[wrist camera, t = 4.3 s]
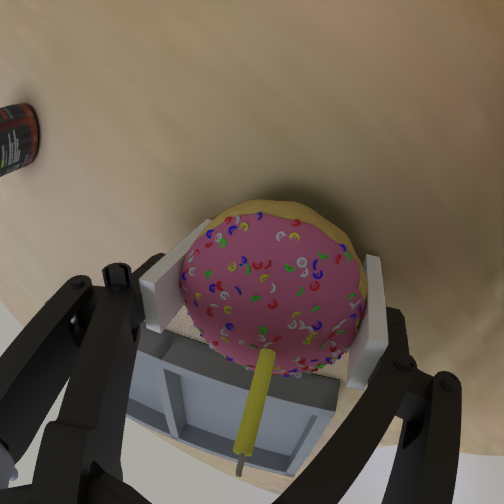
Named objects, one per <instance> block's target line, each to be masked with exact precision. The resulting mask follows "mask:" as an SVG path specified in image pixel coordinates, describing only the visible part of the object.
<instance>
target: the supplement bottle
mask: <svg viewBox="0 0 504 504" xmlns="http://www.w3.org/2000/svg"><path fill="white" fill-rule="evenodd" d="M37 144H38V130H37V124H36V119H35V117H34V114H33V112H32V110H31V109H30V108H29V107H28V106H27V105H25V104H16V105H10V106H7V107H2V108H0V177H1V176H3V175H6V174H8V173H10V172H13V171H15V170H18V169H20V168H22V167H25V166H27V165H28V164H30V163H31V162H32V160H33V158H34V156H35V154H36V150H37Z"/></svg>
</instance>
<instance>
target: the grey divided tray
mask: <svg viewBox="0 0 504 504" xmlns="http://www.w3.org/2000/svg"><path fill="white" fill-rule="evenodd" d="M50 299H51V298H50ZM50 299H49V300H50ZM49 300H48V301H49ZM48 301H47V302H48ZM47 302H46V303H47ZM46 303H45V304H46ZM74 320H75V317H73V318H72V320H71V322H74ZM140 326H141V335H140V340H139V344H138V349H137V354H136V359H135V364H134V370H133V375H132V381H131V386H130V392H129V398H128V405H127V411H126V417H128V418H130V419H132V420H134V421H136V422H138V423H140V424H142V425H144V426H146V427H148V428H150V429H152V430H154V431H156V432H158V433H161V434H163V435H165V436H167V437H170V438H172V439H174V440H177V441H179V442H181V443H184V444H186V445H189V446H191V447H194V448H197V449H199V450H202V451H204V452H207V453H210V454H213V455H216V456H218V457H221V458H224V459H227V460H230V461H234V462H237V463H238V459H239V455H238V454H236V453H234V452H233V447H234V444H235V440H236V437H237V434H238V430H239V427H240V423H241V420H242V416H243V412H244V409H245V405H246V402H247V398H248V394H249V391H250V387H251V383H252V380H253V376H254V372H255V371H253V370H250V369H248V370H247V369H246V368H245V367H243V366H242V365H239V364H237V363H235V362H233V361H226V360H225V359H224V357H223V356H222V355H221V354H220V353H219V352H216V351H215V350H214V349H211V348H210V347H209V345H207V344H204V343H201V342H198V341H195V340H192V339H190V338H187V337H184V336H181V335H178V334H175V333H172V332H170V331H167V330H163V331H162V333H158V332H155V331H153V330H150V329H148V328H147V327H146V322H142V323H141V324H140ZM226 359H227V358H226ZM227 360H228V359H227ZM299 375H300V374H296V376H299ZM285 376H287V375H285ZM339 385H340V380H338V379H333V378H329V377H324V376H320V375H315V374H311V373H306V372H302V375H301V377H299V378H296V377H295V376H294V374H293V375H290V376H289V377H284V376H283V375H273V374H272V375H271V379H270V384H269V388H268V392H267V397H266V401H265V405H264V409H263V413H262V417H261V422H260V426H259V430H258V434H257V438H256V442H255V445H254V449H253V453H252V455H251V456H245V460H244V465H247V466H250V467H254V468H257V469H261V470H264V471H268V472H272V473H276V474H280V475H285V476H289V477H294V475H295V474H296V473H297V471H298V470H299V468H300V467H301V465H302V464H303V462H304V461H305V460H306V458H307V457H308V455H309V454H310V452H311V451H312V449H313V447H314V446H315V444H316V443H317V441H318V440H319V438H320V437H321V435H322V433H323V432H324V430H325V428H326V427H327V425H328V423H329V422H330V420H331V418H332V417H333V415H334V413H335V411H336V405H337V399H338V392H339Z"/></svg>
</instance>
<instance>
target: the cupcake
mask: <svg viewBox="0 0 504 504" xmlns="http://www.w3.org/2000/svg"><path fill="white" fill-rule="evenodd" d="M180 288H181V290H182V292H181V296H180V297H182V296H184V299H185V301H183V303H184V305H185V307H187V309H188V312H187V315H189V314H190V316H191V318H192V320H193V322H194V327H195V328H198V330H199V332H200V333H201V334H202V335H201V334H200V336H202V337H204V338H205V340H206V341H207V342H208V345H209V347H210V348H211V349H214V350H215V351H216V352H219V353H220V354H221V355H222V356H223V357H224V359H225V360H226V361H233V362H235V363H237V364H239V365H242V366H243V367H245V368H246V369H247V370H248V369H250V370H253V371H255V372H254V376H253V380H252V383H251V387H250V391H249V394H248V398H247V402H246V405H245V409H244V412H243V416H242V420H241V423H240V427H239V430H238V434H237V437H236V440H235V444H234V447H233V452H234V453H236V454H238V455H239V459H238V464H237V467H236V476H238V477H241V476H242V469H243V465H244V460H245V456H251V455H252V453H253V449H254V445H255V442H256V438H257V434H258V430H259V426H260V422H261V417H262V413H263V409H264V405H265V401H266V397H267V392H268V388H269V384H270V379H271V375H272V374H273V375H283V376H284V377H289V376H290V375H293V374H294V376H295V377H296V378H299V377H301V375H302V372H306V373H312V371H317V370H318V368H320V369H322V368H324V366H325V364H330V365H333V364H334V363H335V361H336V360H337V359H340V358H341V355H342V354H343V353H344V351H345V353H348V352H349V350H350V346H351V344H352V343H353V341H354V338H355V336H356V334H357V333H358V328H359V326H360V323H361V320H362V318H363V316H364V311H365V303H366V299H367V294H368V281H367V277H366V273H365V271H364V269H363V266H362V264H361V261H360V260H359V258H358V256H357V254H356V252H355V250H354V248H353V245H352V243H351V241H350V239H349V237H348V236H347V235H346V234H345V233H344V232H343V231H342V230H341V229H339V228H338V227H337V226H335V225H334V224H332V223H331V222H330V221H328V220H327V219H325V218H323V217H322V216H321V215H319V214H318V213H317V212H315V211H314V210H312V209H311V208H309V207H307V206H305V205H303V204H301V203H297V202H292V201H274V200H265V199H253V200H248V201H245V202H242V203H239V204H237V205H234V206H232V207H230V208H228V209H227V210H225V211H224V212H222V213H221V214H219V215H218V216H217V217H215V218H214V219H213V220H212V221H211V222H210V223H209V224H208V225H207V226H206V227H205V228H204V230H203V231H202V232H201V233H200V235H199V236H198V237H197V239H196V240H195V241H194V243H193V244H192V246H191V247H190V249H189V250H188V252H187V254H186V256H185V259H184V262H183V265H182V269H181V272H180ZM195 325H196V326H195ZM347 349H348V351H347ZM226 358H227V359H228V360H227V359H226ZM331 361H332V362H333V363H332V362H331ZM331 363H332V364H331ZM317 367H318V368H317ZM315 368H316V369H315ZM313 369H315V370H313ZM308 371H309V372H308ZM296 374H300V375H299V376H296ZM285 375H287V376H285Z"/></svg>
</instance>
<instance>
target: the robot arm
mask: <svg viewBox="0 0 504 504" xmlns="http://www.w3.org/2000/svg"><path fill="white" fill-rule="evenodd" d="M211 221H212V220H209V219H206V220H205V221H204V222H203V223H202V224H200V225H199V226H198V227H197V228H196V229H195V230H193V231H192V232H191V233H190V234H189V235H188V236H186V237H185V238H184V239H183V240H182V241H181V242H179V243H178V244H177V245H176V246H175V247H174V248H173V249H171V250H170V251H169V252H168V253H167V254H164V253H159V254H156V255H154V256H152V257H151V258H149V259H148V260H147V261H146V263H144V264H142V265H141V267H139V268H138V269H137V270H135V271H134V272H133V273H132V272H131V267H130V266H129V265H127V264H125V263H113V264H109V265H107V266H106V267H104V269H103V270H102V273H103V278H104V283H105V287H103V286H93V285H92V281H91V279H90V278H89V277H88V276H86V275H77V276H74V277H72V278H70V279H69V280H68V281H67V282H66V283H65V284H64V285H63V286H62V287H61V288H60V289H59V290H58V291H57V292H56V293H55V294H54V295H53V296H52V297H51V299H50V300H49V301H48V302H47V303H46V304H45V305H44V306H43V307H42V308H41V309H40V311H39V312H38V313H37V314H36V315H35V316H34V317H33V318H32V320H31V321H30V322H29V323H28V324H27V325H26V326H25V328H24V329H23V330H22V331H21V332H20V334H19V335H18V336H17V337H16V339H15V340H14V341H13V342H12V343H11V344H10V346H9V347H8V348H7V349H6V351H5V352H4V353H3V354H2V356H1V357H0V504H152V503H150V502H149V501H148V500H147V499H146V498H144V497H143V496H142V495H141V494H140V493H138V492H137V491H136V490H135V489H133V487H131V486H130V485H128V484H126V483H124V482H123V473H122V468H121V462H120V457H121V448H122V439H123V431H124V425H125V418H126V411H127V405H128V398H129V392H130V386H131V381H132V375H133V370H134V364H135V359H136V354H137V349H138V344H139V340H140V335H141V326H140V324H141V323H142V322H143V321H144V319H145V321H146V327H147V328H148V329H150V330H153V331H155V332H158V333H162V331H163V330H164V329H165V328H166V326H167V325H168V324H169V323H170V321H171V320H172V319H173V318H174V316H175V315H176V314H177V313H178V311H179V310H180V309H181V308H182V306H183V305H184V303H183V301H185V299H184V296H182V297H180V296H181V292H182V290H181V288H180V272H181V269H182V265H183V262H184V259H185V256H186V254H187V252H188V250H189V249H190V247H191V246H192V244H193V243H194V241H195V240H196V239H197V237H198V236H199V235H200V233H201V232H202V231H203V230H204V228H205V227H206V226H207V225H208V224H209V223H210V222H211ZM363 269H364V271H365V273H366V277H367V281H368V294H367V299H366V303H365V311H364V316H363V318H362V320H361V323H360V326H359V328H358V333H357V334H356V336H355V338H354V341H353V343H352V344H351V346H350V352H349V363H348V372H347V381H346V387H350V388H355V389H361V390H363V389H364V388H365V386H366V384H367V383H368V387H367V389H366V390H365V392H364V393H363V395H362V396H361V398H360V399H359V401H358V402H357V404H356V405H355V406H354V408H353V409H352V411H351V412H350V413H349V415H348V416H347V418H346V419H345V420H344V422H343V423H342V424H341V426H340V427H339V428H338V430H337V431H336V432H335V433H334V435H333V436H332V437H331V439H330V440H329V441H328V442H327V444H326V445H325V446H324V447H323V448H322V450H321V451H320V452H319V453H318V455H317V456H316V457H315V458H314V459H313V460H312V462H311V463H310V464H309V465H308V466H307V467H306V468H305V470H304V471H303V472H302V473H301V474H300V475H299V476H298V477H297V478H296V480H295V481H294V482H293V483H292V484H291V485H290V486H289V487H288V488H287V489H286V490H285V491H284V492H283V493H282V494H281V495H280V496H279V497H278V498H277V499H276V500H275V501H274V502H273V503H272V504H338V502H339V501H340V500H341V498H342V497H343V496H344V494H345V493H346V492H347V490H348V489H349V487H350V486H351V485H352V483H353V482H354V481H355V479H356V478H357V476H358V475H359V473H360V472H361V470H362V469H363V468H364V466H365V464H366V463H367V461H368V460H369V458H370V457H371V455H372V454H373V452H374V450H375V449H376V447H377V446H378V444H379V442H380V441H381V439H382V437H383V436H384V434H385V432H386V430H387V429H388V427H389V425H390V423H391V421H392V420H393V418H394V416H397V417H400V418H402V419H404V420H403V425H402V430H401V434H400V439H399V443H398V447H397V452H396V456H395V460H394V463H393V467H392V471H391V474H390V478H389V481H388V485H387V488H386V491H385V494H384V497H383V501H382V503H381V504H452V500H453V495H454V489H455V482H456V475H457V468H458V459H459V449H460V435H461V412H462V387H461V383H460V381H459V379H458V378H457V377H456V376H455V375H454V374H452V373H450V372H448V371H440V372H438V373H437V374H436V375H435V376H434V377H433V376H431V375H428V374H426V373H424V372H422V371H420V370H419V369H418V368H417V364H416V361H415V360H414V358H413V357H412V356H410V355H409V347H408V339H407V333H406V327H405V326H406V324H405V318H404V316H403V314H402V313H401V311H400V310H399V309H395V308H390V307H386V306H385V296H384V286H383V278H382V270H381V263H380V257H377V256H373V255H369V254H366V257H365V260H364V263H363ZM73 317H75V320H74V322H71V320H72V318H73ZM69 377H70V379H69ZM68 379H69V382H68V385H67V388H66V392H65V394H64V398H63V401H62V405H61V408H60V411H59V415H58V418H57V420H56V421H50V422H49V423H48V424H47V425H46V427H45V429H44V433H43V437H42V440H41V445H40V449H39V453H38V457H37V461H36V466H35V471H34V476H33V481H32V484H28V485H23V486H18V487H12V488H8V484H9V480H11V481H14V480H16V479H17V477H18V471H17V469H16V468H15V464H16V463H17V462H18V461H19V460H20V459H21V457H22V456H23V455H24V453H25V452H26V451H27V449H28V447H29V446H30V444H31V442H32V440H33V438H34V437H35V435H36V433H37V431H38V430H39V428H40V426H41V424H42V422H43V421H44V419H45V417H46V415H47V414H48V412H49V410H50V409H51V407H52V405H53V403H54V402H55V400H56V399H57V397H58V395H59V394H60V392H61V390H62V389H63V387H64V385H65V384H66V382H67V381H68Z"/></svg>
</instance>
